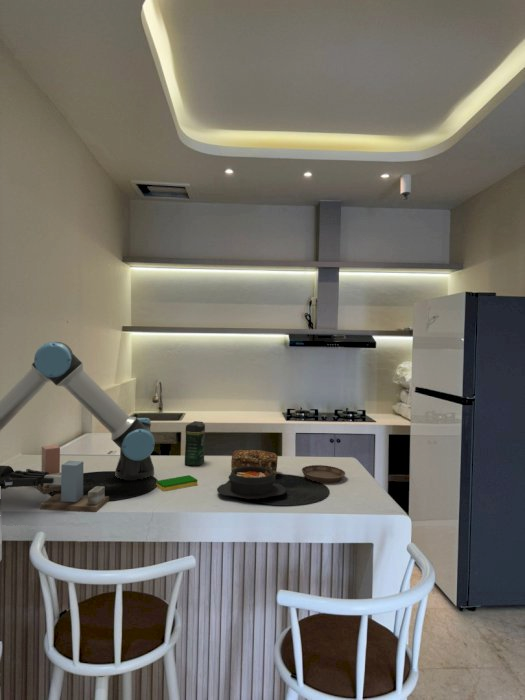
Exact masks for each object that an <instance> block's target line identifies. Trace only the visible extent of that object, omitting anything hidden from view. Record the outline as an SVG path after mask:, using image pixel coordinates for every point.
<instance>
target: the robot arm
mask: <svg viewBox="0 0 525 700" xmlns="http://www.w3.org/2000/svg"><path fill="white" fill-rule="evenodd" d="M33 357H34V362H32V364H31V368H30V370H28V372H26V373H25V375H24V376H23V377H22V378H21V379H20V380H19V381H18V382H17V383H16V384H15V385H14V386H13V387H12V388H11V389H10V390H9V391H8V392H7V393H6V394H5V395H4V396H3V397H2V398H1V400H0V432H1V431H2V430H3V429H4V428H5V427H6V426H7V425H8V424H9V423H10V422H11V421H12V420H13V419H14V418H15V417H16V416H17V415H18V414H19V413H20V411H22V409H23V408H24V407H25V406H26V405H27V404H28V403H29V402H30V401H31V400H32V399H33V398H34V397H35V396H36V395H37V394H38V393H39V392H40V391H41V390H42V389H43V387H45V386H46V385H47V383H49V382H52V383H53V384H54V385H55V386H56V387H64V389H66V390H67V392H69V393H70V395H72V396H73V397H74V398H75V399H76V400H77V401H78V402H79V403H80V404H81V405H82V406H83V407H84V408H85V409H86V410H87V411H88V412H89V413H90V414H91V415H92V416H93V417H94V418H95V419H96V420H97V421H98V422H100V424H101V425H102V426H103V427H105V428H106V430H108V432H109V433H111V438H110V439H111V441H113V442H114V443H115V444H116V446H117V447H119V458H118V462H117V465H116V468H115V471H114V472H115V473H114V475H115V476H116V477H117V478H116V477H115V476H114V477H115V478H116V479H118V478H120V479H119V480H121V479H124V480H123V481H138V480H137V479H141V480H144V479H143V478H146V479H148V478H147V477H149V478H151V477H153V476H154V475H155V467H154V464H153V461H152V458H151V455H152V453H153V451H154V449H155V445H156V444H155V443H156V441H155V436H154V434H153V433H152V432H151V425H152V422H151V419H150V418H148V417H136V416H130V415H128V414H127V412H125V411H124V410H123V409H122V408H121V406H119V405H118V404H117V403H116V402H115V400H113V399H112V398H111V397H110V396H109V394H107V392H105V391H104V390H103V388H102V387H101V386H99V384H97V383H96V382H95V381H94V379H93V378H92V377H91V376H89V375H88V374H87V372H86V371H84V367H83V366H84V363H83V362H82V361H81V360H80V359H79V358H78V357H77V356H76V355H75V354H74V353H73V351H72V349H71V347H70V346H69V345H68V344H66V343H64V342H60V341H50V342H45V343H44V344H43V345H41V346H40V347H39V348H38V349H37V350H36V351H35V354H34V356H33ZM150 476H151V477H150ZM43 483H44V484H53V485H61V475H49V472H42V470H41V471H40V470H33V469H30V468H27V469H25V471H22V470H14V469H13V467H12V466H10V465H0V486H1V489H0V490H6V489H8V488H15V487H16V488H17V487H20V488H21V487H26V488H27V487H36V486H38V485H40V487H43Z"/></svg>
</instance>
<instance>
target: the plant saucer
mask: <svg viewBox="0 0 525 700" xmlns="http://www.w3.org/2000/svg"><path fill="white" fill-rule="evenodd" d="M301 472H302V474H303V476H304V477H305V478H306V479H308V480H309V479H310V480H309V481H311V480H312V481H311V482H314V481H316V482H315V483H319V482H320V483H321V484H334V483H337V482H340V481H341V480H342V479H343V478H344V477H345V476H346V472H345V470H343V469H341V468H339V467H335V466H330V465H323V464H322V465H321V464H313V465H307V466H303V467H302V468H301Z"/></svg>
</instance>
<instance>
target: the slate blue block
mask: <svg viewBox="0 0 525 700" xmlns="http://www.w3.org/2000/svg"><path fill="white" fill-rule="evenodd" d="M60 465H61V466H60V468H61V469H60V470H61V471H60V473H61V491H60V492H61V493H60V494H61V501H63V502H77V501H78V500H79V499H81V498H82V497H83V495H84V461H83V460H82V461H80V460H78V461H77V460H68V461H67V462H64V463H63V464H60Z"/></svg>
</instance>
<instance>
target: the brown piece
mask: <svg viewBox="0 0 525 700" xmlns="http://www.w3.org/2000/svg"><path fill="white" fill-rule="evenodd" d="M49 475H61V472H60V473H55V474H49ZM36 488H37V489H39V490H40V491H41V492H42V494H44V495H45V494H46V495H47V494H50V492H52V493H54V492H53V491H57V492H59V491H58V490H61V485H53V484H44V483H43V487H40V485H38V486H37V487H36Z"/></svg>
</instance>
